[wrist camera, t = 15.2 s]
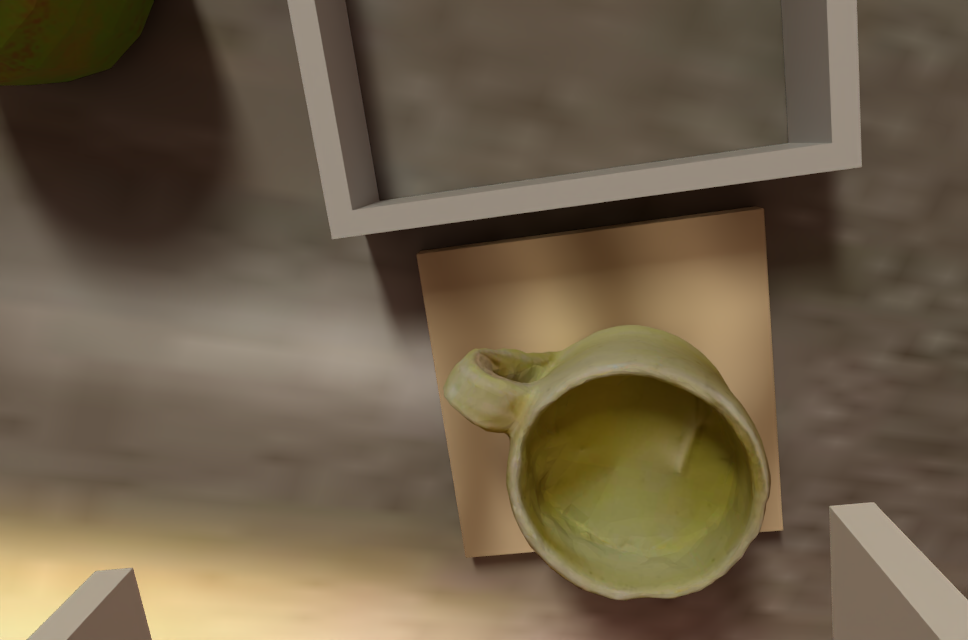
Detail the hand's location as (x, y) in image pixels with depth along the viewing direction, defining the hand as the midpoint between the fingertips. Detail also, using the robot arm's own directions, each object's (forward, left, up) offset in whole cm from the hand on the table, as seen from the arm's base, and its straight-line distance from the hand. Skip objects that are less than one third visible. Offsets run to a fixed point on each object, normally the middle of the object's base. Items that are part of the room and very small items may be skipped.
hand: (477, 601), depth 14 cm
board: (+4, -3, -21) cm, 22 cm away
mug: (+3, -3, -20) cm, 21 cm away
